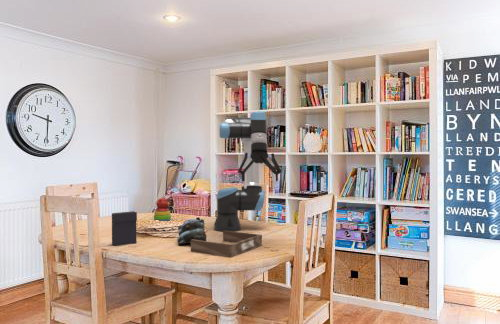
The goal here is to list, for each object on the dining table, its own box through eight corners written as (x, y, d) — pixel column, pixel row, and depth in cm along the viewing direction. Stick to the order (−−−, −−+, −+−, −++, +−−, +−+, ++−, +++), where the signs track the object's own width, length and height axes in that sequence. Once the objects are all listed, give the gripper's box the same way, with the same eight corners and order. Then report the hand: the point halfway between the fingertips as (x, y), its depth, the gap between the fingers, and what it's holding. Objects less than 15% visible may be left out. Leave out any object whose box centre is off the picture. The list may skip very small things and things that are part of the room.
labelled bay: (224, 240, 216) (224, 230, 216) (262, 245, 205) (262, 234, 205) (190, 251, 194) (190, 239, 194) (231, 257, 183) (231, 245, 183)
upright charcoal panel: (133, 241, 213) (133, 211, 213) (137, 243, 210) (137, 212, 209) (111, 244, 206) (111, 212, 206) (114, 246, 203) (114, 214, 203)
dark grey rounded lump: (172, 245, 205) (170, 217, 211) (184, 250, 215) (182, 223, 221) (200, 238, 201) (198, 209, 207) (212, 243, 211) (209, 216, 217)
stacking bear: (167, 231, 240) (167, 199, 239) (150, 231, 242) (150, 198, 241) (175, 228, 250) (175, 197, 250) (158, 227, 252) (158, 196, 252)
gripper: (233, 140, 200) (234, 186, 195) (286, 142, 205) (288, 187, 199) (231, 145, 208) (231, 189, 202) (282, 146, 212) (284, 190, 207)
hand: (260, 188), depth 201 cm, fingers open, 13 cm apart
